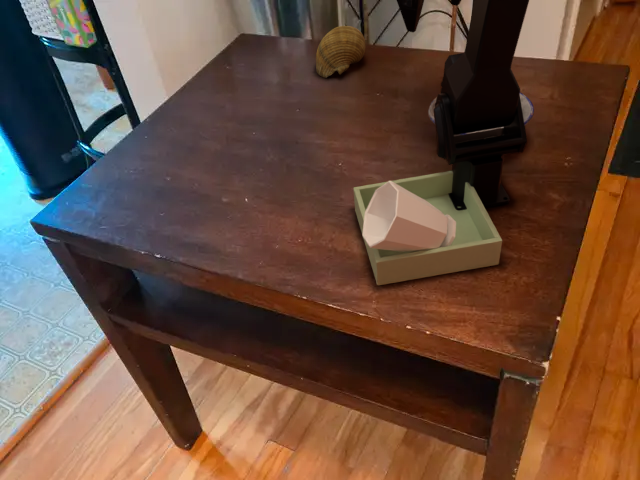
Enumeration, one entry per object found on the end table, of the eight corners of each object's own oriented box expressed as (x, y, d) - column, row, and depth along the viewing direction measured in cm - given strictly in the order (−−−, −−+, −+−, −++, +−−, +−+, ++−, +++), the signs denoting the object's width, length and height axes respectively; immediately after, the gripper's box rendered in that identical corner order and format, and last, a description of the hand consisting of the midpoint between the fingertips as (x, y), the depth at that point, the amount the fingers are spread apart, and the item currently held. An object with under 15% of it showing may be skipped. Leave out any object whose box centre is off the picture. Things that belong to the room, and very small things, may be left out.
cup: (452, 271, 61) (385, 251, 58) (403, 259, 70) (343, 241, 67) (473, 204, 60) (406, 179, 57) (421, 201, 69) (361, 180, 66)
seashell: (340, 100, 99) (368, 68, 92) (304, 78, 96) (330, 42, 90) (348, 62, 103) (375, 29, 97) (313, 40, 101) (339, 4, 95)
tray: (498, 264, 64) (502, 240, 61) (377, 285, 64) (376, 262, 61) (461, 191, 73) (463, 168, 70) (355, 210, 73) (353, 187, 70)
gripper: (431, -156, 73) (427, -19, 85) (326, -114, 65) (338, 31, 77) (511, -150, 67) (495, -4, 79) (408, -103, 59) (407, 52, 71)
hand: (433, 17), depth 76 cm, fingers open, 9 cm apart
